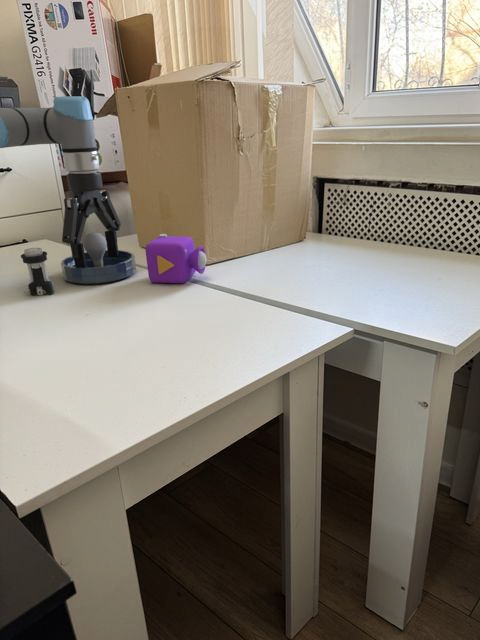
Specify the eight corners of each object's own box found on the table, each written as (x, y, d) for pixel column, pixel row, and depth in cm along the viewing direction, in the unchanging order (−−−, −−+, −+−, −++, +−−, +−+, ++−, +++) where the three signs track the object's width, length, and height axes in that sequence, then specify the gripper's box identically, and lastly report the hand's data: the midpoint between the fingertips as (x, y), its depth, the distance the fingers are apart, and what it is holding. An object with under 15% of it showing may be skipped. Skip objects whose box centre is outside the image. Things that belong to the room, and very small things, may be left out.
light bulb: (84, 275, 124) (77, 234, 120) (94, 269, 129) (87, 229, 124) (105, 276, 123) (98, 235, 119) (114, 269, 128) (108, 230, 124)
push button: (20, 298, 111) (9, 253, 107) (27, 291, 116) (17, 247, 112) (51, 296, 112) (42, 251, 108) (57, 289, 117) (48, 246, 113)
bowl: (49, 282, 121) (45, 265, 120) (93, 263, 136) (90, 248, 134) (110, 288, 116) (107, 270, 114) (149, 268, 131) (147, 251, 129)
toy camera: (206, 284, 116) (203, 241, 112) (147, 286, 117) (141, 243, 112) (210, 271, 126) (207, 231, 122) (155, 273, 126) (150, 232, 122)
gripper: (61, 178, 104) (79, 279, 113) (127, 166, 125) (138, 252, 134) (31, 178, 106) (52, 276, 116) (101, 166, 127) (114, 250, 136)
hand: (98, 263), depth 125 cm, fingers open, 12 cm apart
